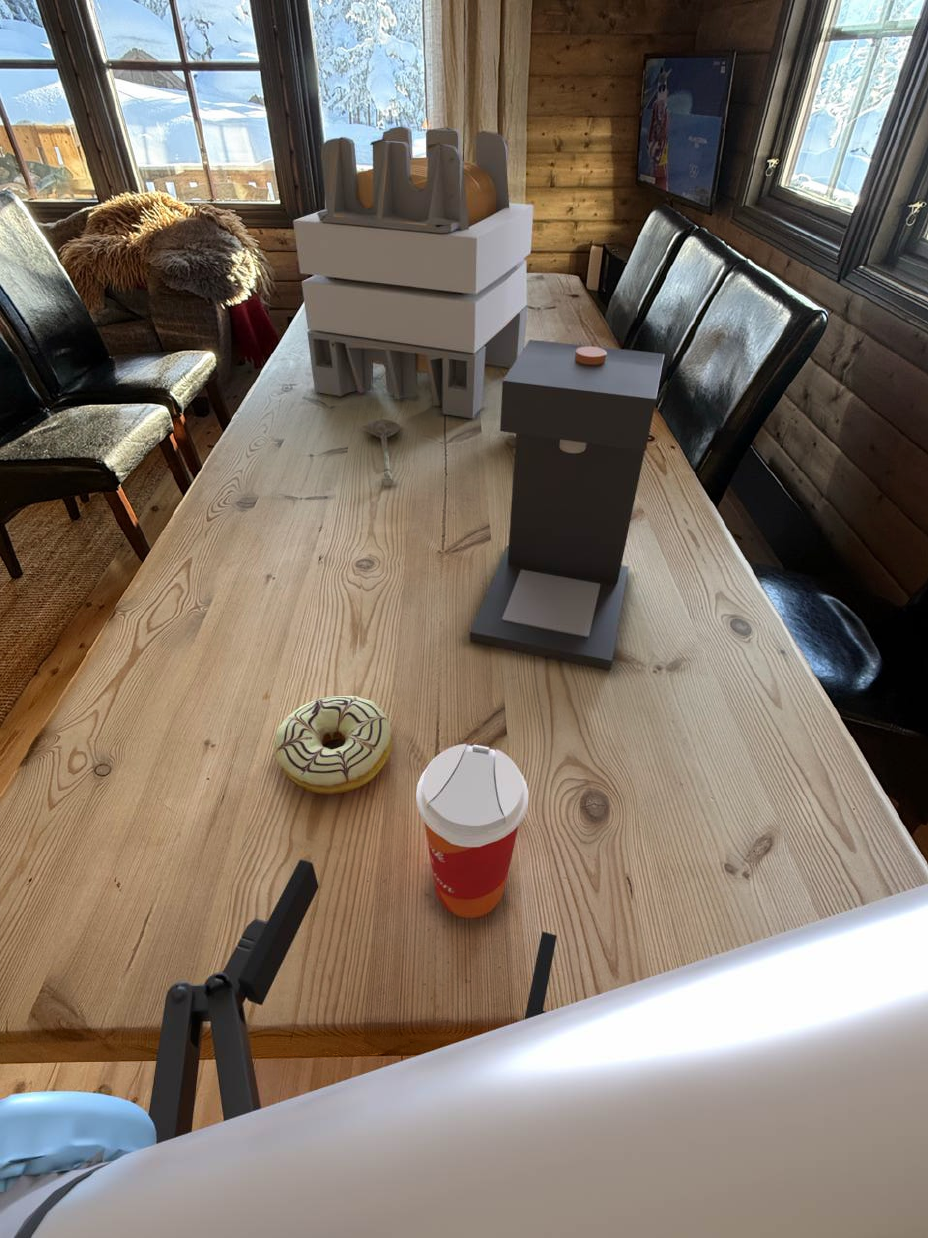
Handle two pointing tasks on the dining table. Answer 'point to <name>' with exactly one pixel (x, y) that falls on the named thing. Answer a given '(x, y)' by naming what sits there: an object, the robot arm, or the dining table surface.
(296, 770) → the decorated donut
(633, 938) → the dining table surface
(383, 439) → the soupspoon
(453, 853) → the paper cup
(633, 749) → the dining table surface
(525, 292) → the transformer
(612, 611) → the coffee maker
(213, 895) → the dining table surface
